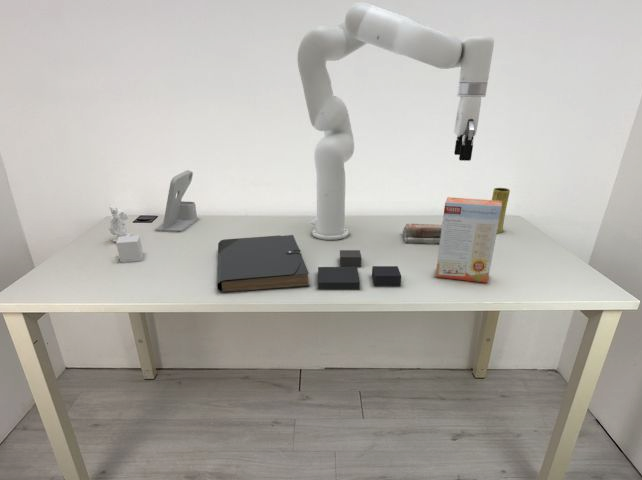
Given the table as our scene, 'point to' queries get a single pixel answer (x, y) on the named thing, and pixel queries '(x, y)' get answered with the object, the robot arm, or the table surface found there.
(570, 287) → the table surface
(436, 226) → the packaged product
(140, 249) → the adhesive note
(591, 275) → the table surface
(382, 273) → the charcoal pad
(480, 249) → the cracker box
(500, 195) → the vase
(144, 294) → the table surface
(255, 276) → the dark grey book
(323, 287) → the base pad
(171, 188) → the phone holder
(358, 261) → the grey pad
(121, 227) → the white figurine
